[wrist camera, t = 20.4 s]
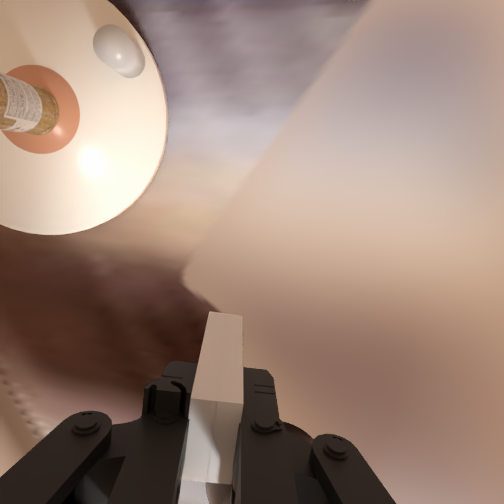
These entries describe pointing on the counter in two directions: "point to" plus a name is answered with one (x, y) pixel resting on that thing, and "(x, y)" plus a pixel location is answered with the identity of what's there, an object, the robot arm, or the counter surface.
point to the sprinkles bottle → (26, 107)
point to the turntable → (79, 115)
